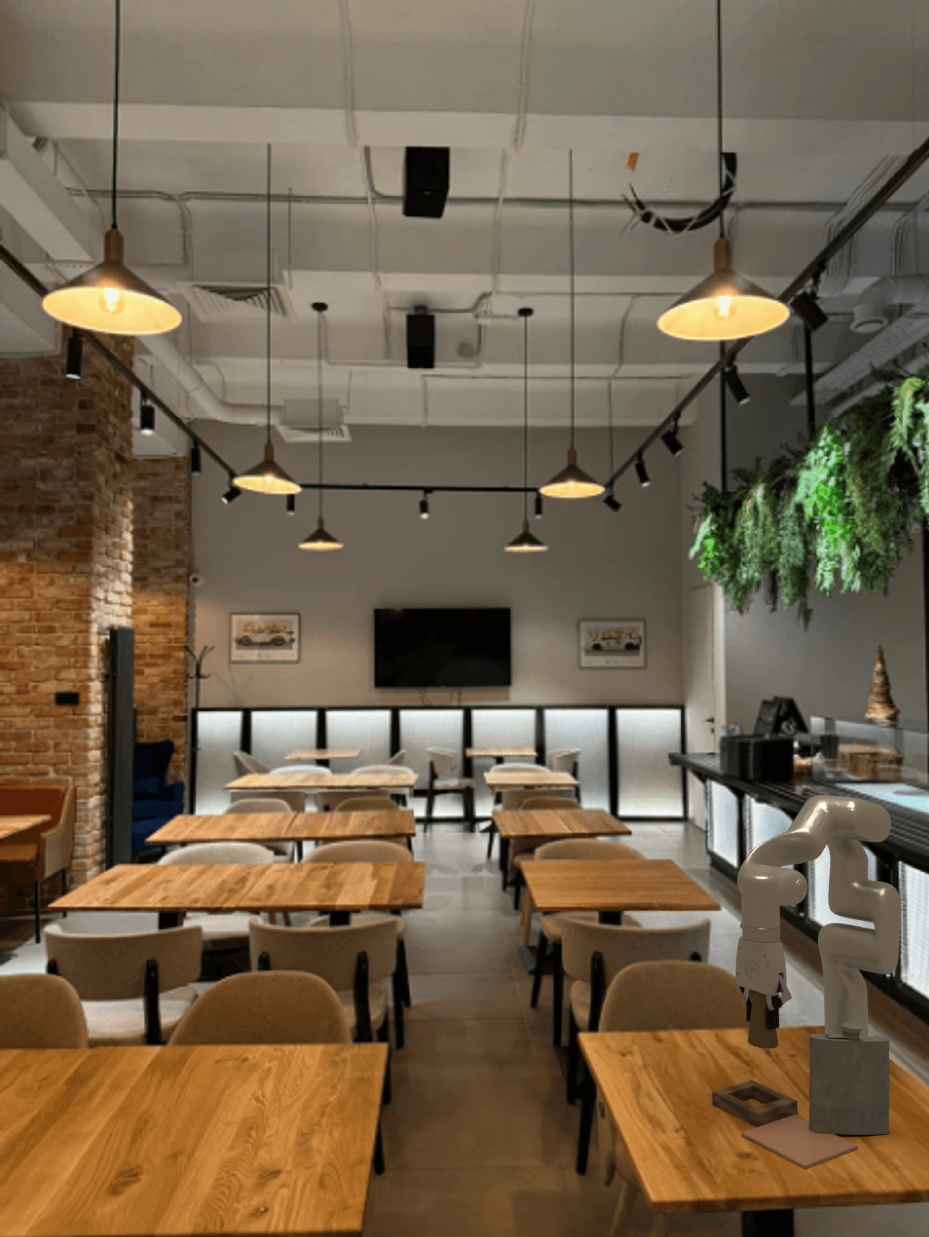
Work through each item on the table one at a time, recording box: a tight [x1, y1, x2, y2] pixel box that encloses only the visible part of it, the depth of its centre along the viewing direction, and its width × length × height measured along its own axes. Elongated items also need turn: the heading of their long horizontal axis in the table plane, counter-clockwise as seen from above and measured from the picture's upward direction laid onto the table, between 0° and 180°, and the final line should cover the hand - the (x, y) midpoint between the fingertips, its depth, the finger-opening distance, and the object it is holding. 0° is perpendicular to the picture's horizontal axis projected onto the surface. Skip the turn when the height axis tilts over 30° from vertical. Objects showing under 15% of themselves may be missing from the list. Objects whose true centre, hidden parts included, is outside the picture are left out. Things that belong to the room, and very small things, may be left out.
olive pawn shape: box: [747, 990, 779, 1050], centre depth 193 cm, size 6×6×11 cm
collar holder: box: [711, 1079, 799, 1128], centre depth 195 cm, size 12×12×2 cm
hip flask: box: [808, 1023, 890, 1136], centre depth 185 cm, size 16×4×20 cm, turn 94°
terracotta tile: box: [741, 1115, 859, 1170], centre depth 180 cm, size 15×15×1 cm
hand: (762, 1023), depth 193 cm, fingers closed on olive pawn shape, 4 cm apart
